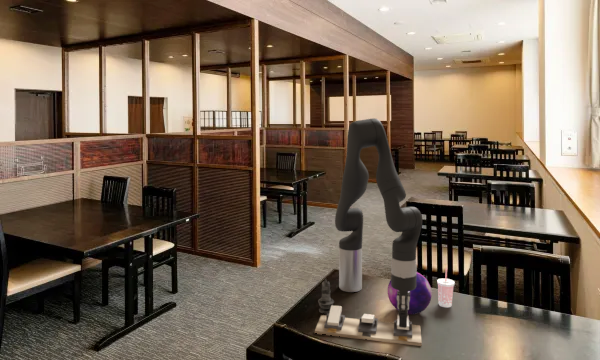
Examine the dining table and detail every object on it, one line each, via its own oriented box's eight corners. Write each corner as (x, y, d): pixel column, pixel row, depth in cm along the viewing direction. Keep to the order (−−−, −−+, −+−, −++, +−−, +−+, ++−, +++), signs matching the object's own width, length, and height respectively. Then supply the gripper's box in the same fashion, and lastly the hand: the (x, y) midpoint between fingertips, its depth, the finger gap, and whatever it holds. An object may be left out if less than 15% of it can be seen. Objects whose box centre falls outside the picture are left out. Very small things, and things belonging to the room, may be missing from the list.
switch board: (321, 317, 141) (321, 307, 140) (420, 328, 132) (420, 317, 132) (314, 333, 130) (314, 322, 130) (421, 346, 122) (421, 334, 121)
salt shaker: (333, 306, 149) (333, 275, 148) (335, 313, 143) (334, 281, 142) (317, 307, 149) (316, 275, 147) (318, 314, 143) (318, 282, 142)
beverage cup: (457, 305, 148) (458, 268, 147) (447, 309, 145) (448, 272, 143) (443, 299, 153) (444, 264, 152) (432, 303, 150) (433, 267, 148)
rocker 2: (363, 317, 136) (363, 313, 136) (374, 318, 135) (374, 314, 135) (361, 322, 128) (361, 318, 129) (372, 323, 128) (373, 319, 128)
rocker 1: (331, 307, 139) (331, 305, 138) (341, 309, 138) (341, 306, 137) (327, 324, 131) (327, 322, 131) (338, 326, 131) (338, 323, 130)
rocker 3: (397, 317, 133) (397, 314, 133) (408, 319, 132) (408, 315, 132) (397, 328, 126) (397, 325, 126) (409, 330, 125) (409, 326, 125)
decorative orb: (387, 301, 153) (387, 263, 151) (428, 304, 150) (429, 265, 148) (387, 320, 138) (388, 278, 136) (433, 324, 135) (434, 281, 133)
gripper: (391, 264, 131) (391, 315, 133) (390, 278, 118) (389, 335, 120) (416, 266, 129) (415, 317, 131) (417, 280, 116) (416, 338, 118)
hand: (402, 326), depth 125 cm, fingers closed
